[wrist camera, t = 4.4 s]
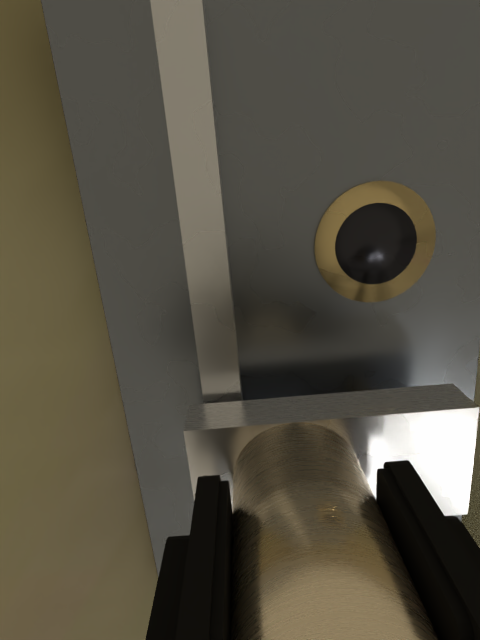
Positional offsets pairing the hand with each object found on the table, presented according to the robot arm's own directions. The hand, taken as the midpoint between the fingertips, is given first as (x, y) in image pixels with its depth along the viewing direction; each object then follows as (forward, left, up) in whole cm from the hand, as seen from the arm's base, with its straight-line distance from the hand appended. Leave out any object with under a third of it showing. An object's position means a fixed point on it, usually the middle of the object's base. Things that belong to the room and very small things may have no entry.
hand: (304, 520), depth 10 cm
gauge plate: (-1, -2, -6) cm, 6 cm away
